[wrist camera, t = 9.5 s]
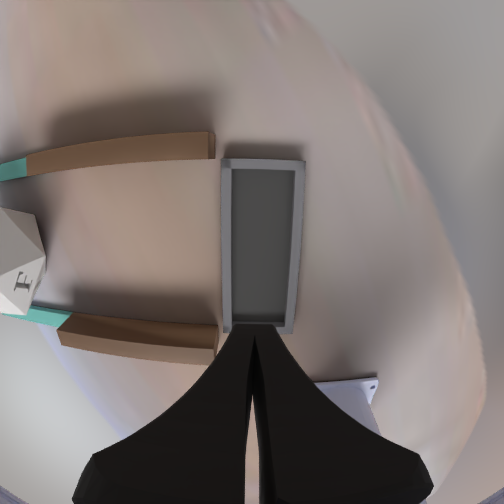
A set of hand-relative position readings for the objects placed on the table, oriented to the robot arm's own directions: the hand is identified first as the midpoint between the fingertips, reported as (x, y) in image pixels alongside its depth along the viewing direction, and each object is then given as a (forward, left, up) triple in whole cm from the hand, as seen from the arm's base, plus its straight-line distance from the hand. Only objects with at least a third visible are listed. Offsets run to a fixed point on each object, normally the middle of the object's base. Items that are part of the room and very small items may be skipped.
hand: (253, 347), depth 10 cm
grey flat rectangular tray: (0, 0, -10) cm, 10 cm away
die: (0, +19, -11) cm, 22 cm away
